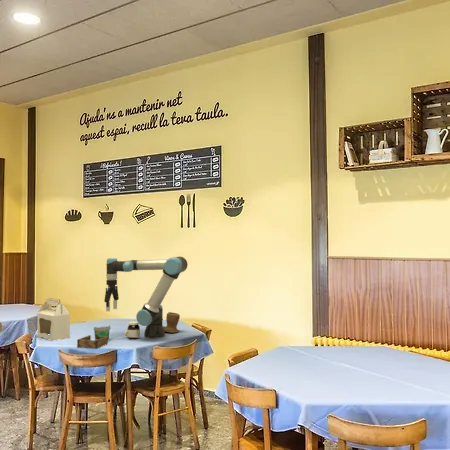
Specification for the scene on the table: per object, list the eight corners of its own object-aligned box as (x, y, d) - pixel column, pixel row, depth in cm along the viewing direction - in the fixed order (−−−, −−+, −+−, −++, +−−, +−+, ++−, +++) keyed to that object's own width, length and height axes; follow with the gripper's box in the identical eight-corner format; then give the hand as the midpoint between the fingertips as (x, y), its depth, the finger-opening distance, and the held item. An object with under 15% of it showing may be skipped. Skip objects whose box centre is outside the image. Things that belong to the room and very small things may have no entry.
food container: (96, 342, 345) (96, 328, 345) (93, 341, 350) (93, 327, 350) (113, 340, 353) (113, 326, 353) (109, 339, 358) (109, 325, 358)
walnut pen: (107, 343, 343) (107, 336, 343) (96, 348, 328) (96, 341, 328) (89, 342, 346) (89, 335, 347) (77, 347, 332) (77, 339, 332)
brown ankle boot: (182, 332, 382) (182, 312, 382) (170, 334, 374) (170, 314, 374) (170, 329, 393) (170, 310, 393) (158, 331, 385) (158, 312, 385)
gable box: (37, 336, 365) (37, 298, 366) (53, 333, 375) (53, 296, 376) (53, 341, 351) (53, 301, 351) (70, 338, 361) (70, 299, 361)
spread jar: (136, 340, 354) (136, 323, 354) (121, 339, 356) (121, 323, 356) (142, 336, 366) (142, 320, 366) (127, 336, 368) (127, 320, 368)
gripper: (114, 277, 375) (114, 307, 375) (99, 280, 353) (99, 312, 353) (123, 278, 373) (123, 308, 373) (108, 281, 351) (108, 312, 351)
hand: (111, 310), depth 363 cm, fingers open, 10 cm apart
